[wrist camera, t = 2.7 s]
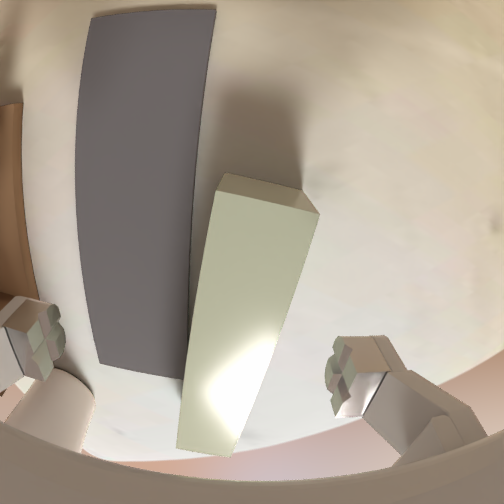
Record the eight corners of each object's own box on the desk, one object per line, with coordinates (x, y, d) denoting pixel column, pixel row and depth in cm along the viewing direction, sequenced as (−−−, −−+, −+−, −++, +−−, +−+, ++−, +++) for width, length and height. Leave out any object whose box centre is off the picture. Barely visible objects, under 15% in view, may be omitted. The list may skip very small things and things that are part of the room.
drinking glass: (106, 424, 21) (62, 570, 7) (40, 394, 20) (-21, 523, 6) (106, 379, 18) (38, 565, 5) (29, 344, 18) (-62, 496, 4)
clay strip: (225, 171, 13) (215, 190, 10) (301, 189, 14) (319, 214, 10) (184, 402, 20) (175, 448, 16) (232, 411, 20) (230, 457, 16)
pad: (216, 12, 10) (215, 9, 10) (188, 376, 18) (187, 380, 18) (94, 19, 10) (91, 18, 9) (101, 360, 18) (99, 363, 17)
